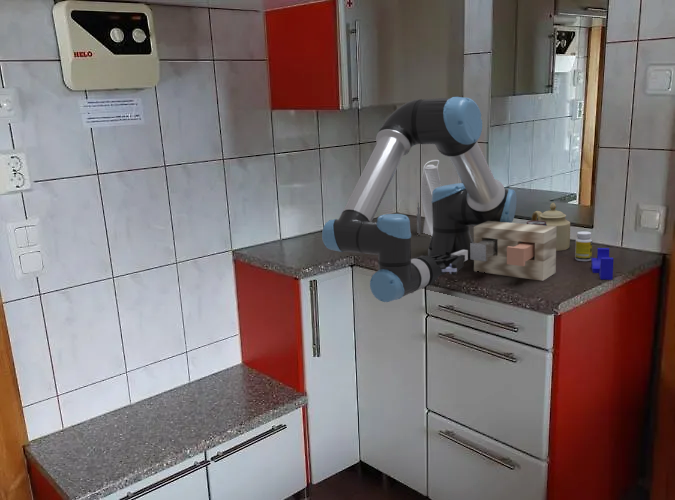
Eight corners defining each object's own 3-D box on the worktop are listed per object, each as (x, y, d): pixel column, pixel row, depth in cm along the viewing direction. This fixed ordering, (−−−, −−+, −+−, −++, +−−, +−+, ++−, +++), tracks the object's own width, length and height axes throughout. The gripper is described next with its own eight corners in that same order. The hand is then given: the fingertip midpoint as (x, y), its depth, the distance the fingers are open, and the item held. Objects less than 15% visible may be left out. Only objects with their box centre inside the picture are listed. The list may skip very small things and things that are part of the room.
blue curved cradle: (591, 267, 183) (591, 247, 182) (607, 268, 182) (608, 248, 180) (594, 279, 172) (595, 258, 171) (612, 280, 171) (613, 259, 169)
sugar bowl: (517, 247, 211) (518, 202, 207) (533, 240, 218) (534, 197, 215) (560, 252, 201) (561, 206, 197) (575, 245, 208) (576, 200, 205)
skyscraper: (432, 231, 243) (430, 159, 236) (447, 234, 236) (445, 160, 230) (415, 235, 238) (413, 161, 231) (431, 238, 232) (429, 162, 225)
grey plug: (470, 259, 179) (470, 243, 177) (490, 249, 188) (490, 233, 187) (485, 261, 175) (485, 244, 174) (505, 251, 185) (505, 235, 184)
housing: (474, 271, 187) (473, 226, 183) (488, 263, 193) (487, 220, 190) (543, 280, 173) (543, 233, 170) (555, 272, 180) (556, 226, 177)
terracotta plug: (506, 264, 172) (506, 247, 170) (525, 253, 181) (526, 237, 180) (523, 266, 169) (523, 248, 167) (542, 255, 178) (542, 239, 177)
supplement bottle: (593, 261, 189) (594, 234, 187) (576, 261, 190) (577, 234, 188) (590, 257, 193) (591, 230, 191) (573, 257, 194) (574, 231, 192)
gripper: (396, 284, 158) (444, 265, 176) (441, 292, 150) (487, 271, 167) (395, 255, 156) (444, 238, 174) (441, 261, 148) (487, 243, 166)
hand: (465, 254), depth 171 cm, fingers closed
